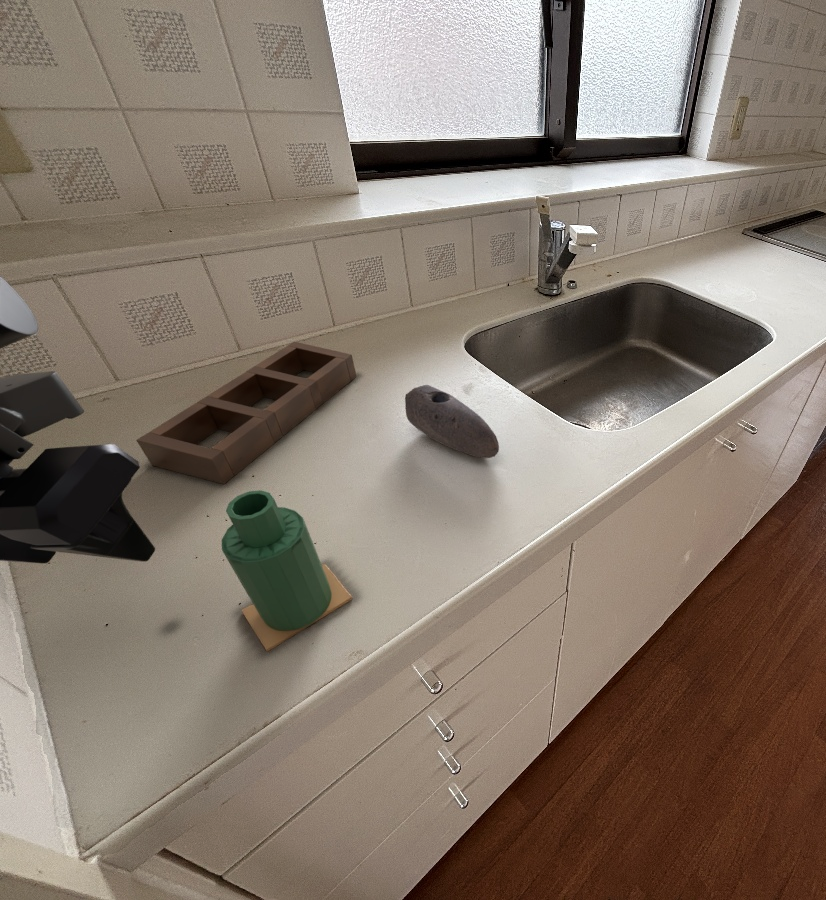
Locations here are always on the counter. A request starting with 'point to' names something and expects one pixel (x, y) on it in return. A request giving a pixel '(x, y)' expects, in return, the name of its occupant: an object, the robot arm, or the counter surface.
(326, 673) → the counter surface
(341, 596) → the cork trivet
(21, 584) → the counter surface
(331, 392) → the brown compartment tray
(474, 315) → the counter surface
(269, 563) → the bottle
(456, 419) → the perforated stone tool
